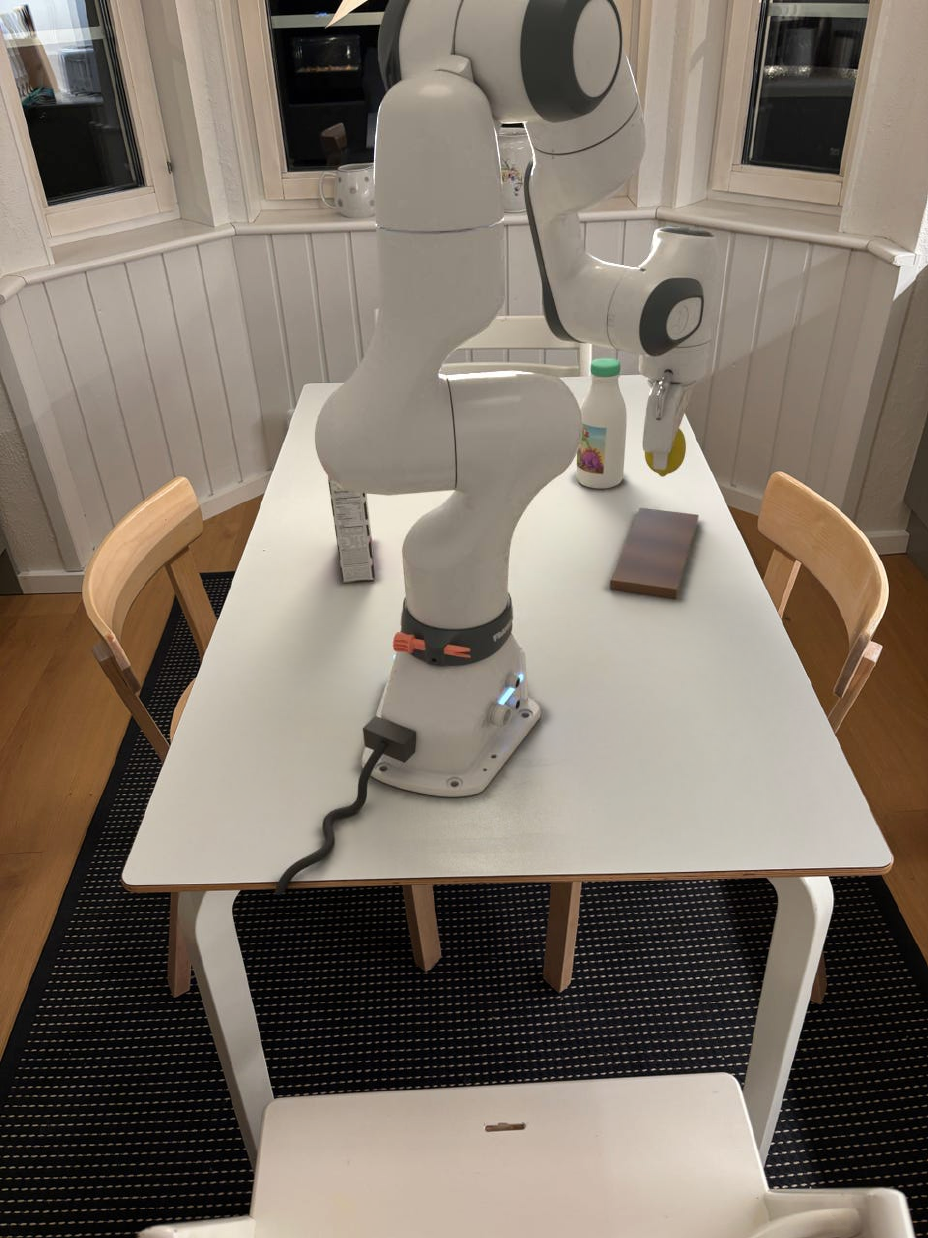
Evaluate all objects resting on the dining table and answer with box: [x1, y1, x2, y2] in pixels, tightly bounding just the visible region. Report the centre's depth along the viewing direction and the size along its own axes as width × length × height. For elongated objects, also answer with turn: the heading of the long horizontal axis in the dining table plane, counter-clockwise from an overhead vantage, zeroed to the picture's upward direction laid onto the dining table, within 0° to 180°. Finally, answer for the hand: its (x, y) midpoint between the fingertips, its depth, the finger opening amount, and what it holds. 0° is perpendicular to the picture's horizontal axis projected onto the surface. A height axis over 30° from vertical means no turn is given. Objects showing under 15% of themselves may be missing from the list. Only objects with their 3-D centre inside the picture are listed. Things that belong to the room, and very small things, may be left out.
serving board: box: [609, 507, 699, 600], centre depth 137 cm, size 22×9×2 cm, turn 161°
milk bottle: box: [575, 357, 628, 489], centre depth 153 cm, size 8×8×20 cm
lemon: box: [644, 428, 687, 477], centre depth 130 cm, size 6×6×8 cm
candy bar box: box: [327, 475, 376, 584], centre depth 134 cm, size 11×5×16 cm, turn 7°
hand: (664, 456), depth 131 cm, fingers closed on lemon, 5 cm apart
